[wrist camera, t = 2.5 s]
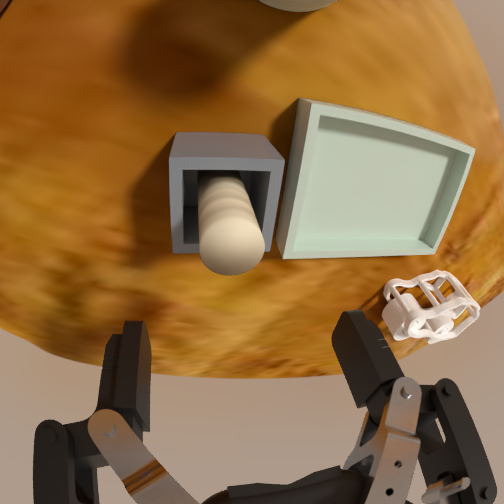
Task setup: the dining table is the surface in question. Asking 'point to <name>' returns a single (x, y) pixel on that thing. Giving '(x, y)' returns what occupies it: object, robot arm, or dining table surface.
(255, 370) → the dining table surface
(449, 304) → the white wireframe roller cage
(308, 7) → the can
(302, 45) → the dining table surface
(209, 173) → the dowel pin
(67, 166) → the dining table surface
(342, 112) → the tray
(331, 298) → the dining table surface
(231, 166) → the deep cup
